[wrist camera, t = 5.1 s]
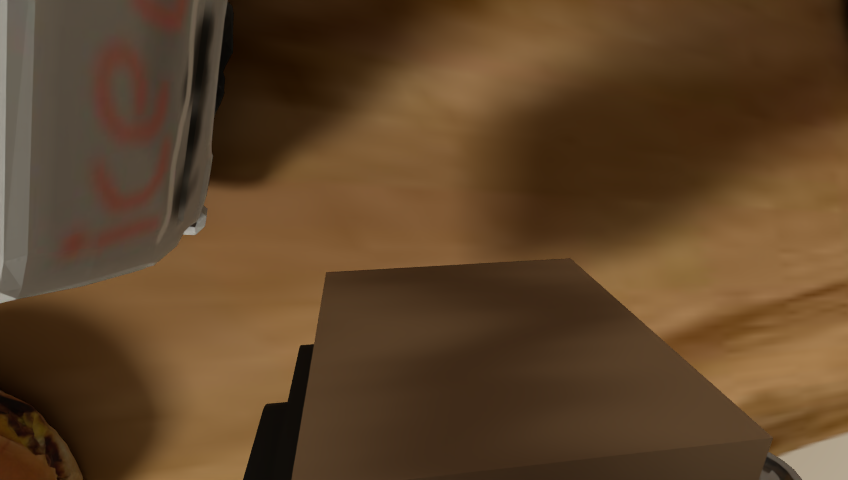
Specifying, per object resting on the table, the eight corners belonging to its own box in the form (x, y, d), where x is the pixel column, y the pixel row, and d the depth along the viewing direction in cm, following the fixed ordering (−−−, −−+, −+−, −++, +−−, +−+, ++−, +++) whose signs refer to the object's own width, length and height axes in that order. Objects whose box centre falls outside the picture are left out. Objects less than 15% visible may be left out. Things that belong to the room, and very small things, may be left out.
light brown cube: (570, 258, 11) (772, 437, 6) (548, 445, 13) (681, 710, 8) (326, 272, 11) (289, 492, 5) (343, 467, 13) (330, 777, 7)
